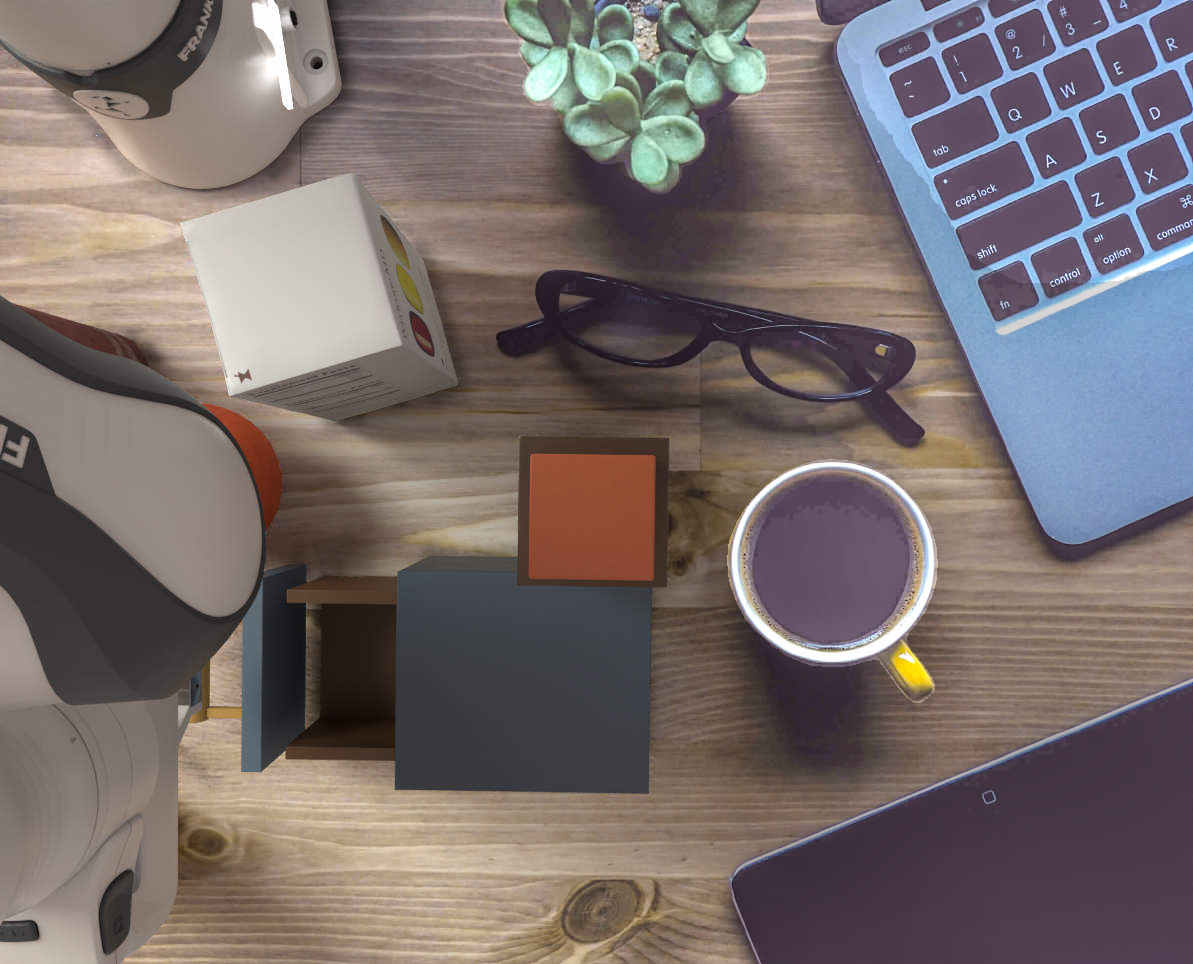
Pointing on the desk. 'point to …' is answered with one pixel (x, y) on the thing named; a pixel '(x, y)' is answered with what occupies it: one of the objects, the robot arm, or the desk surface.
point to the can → (90, 336)
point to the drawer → (348, 670)
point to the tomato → (255, 458)
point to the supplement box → (319, 302)
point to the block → (592, 517)
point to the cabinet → (519, 682)
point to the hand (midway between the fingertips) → (188, 681)
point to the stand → (595, 447)
